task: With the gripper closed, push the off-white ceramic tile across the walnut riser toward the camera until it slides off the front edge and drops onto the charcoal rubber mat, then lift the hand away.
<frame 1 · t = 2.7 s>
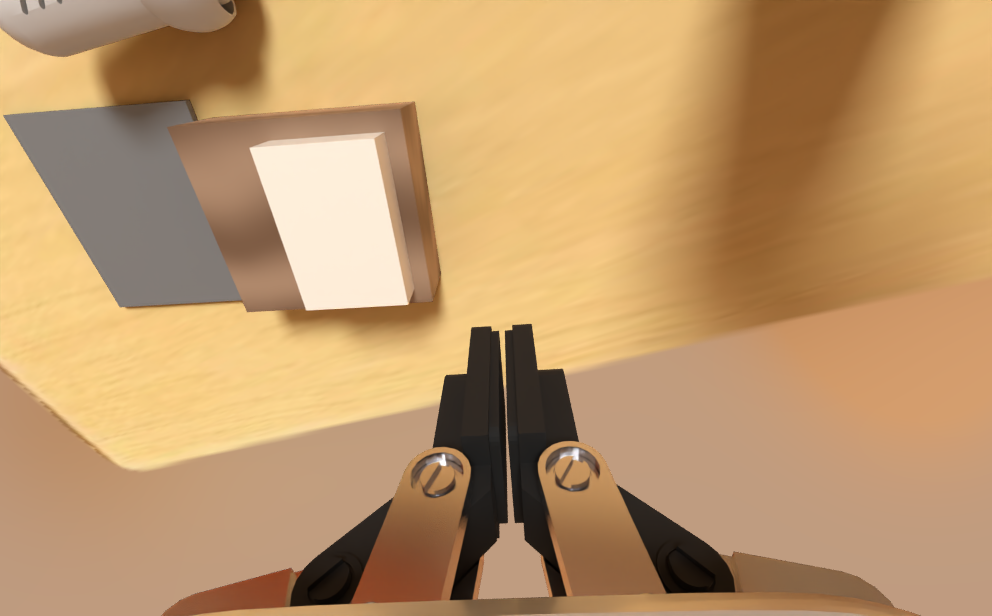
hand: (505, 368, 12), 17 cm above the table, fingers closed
riser: (337, 202, 27), on the table
mat: (152, 215, 28), on the table
tile: (348, 221, 24), point 4 cm above the table, touching riser
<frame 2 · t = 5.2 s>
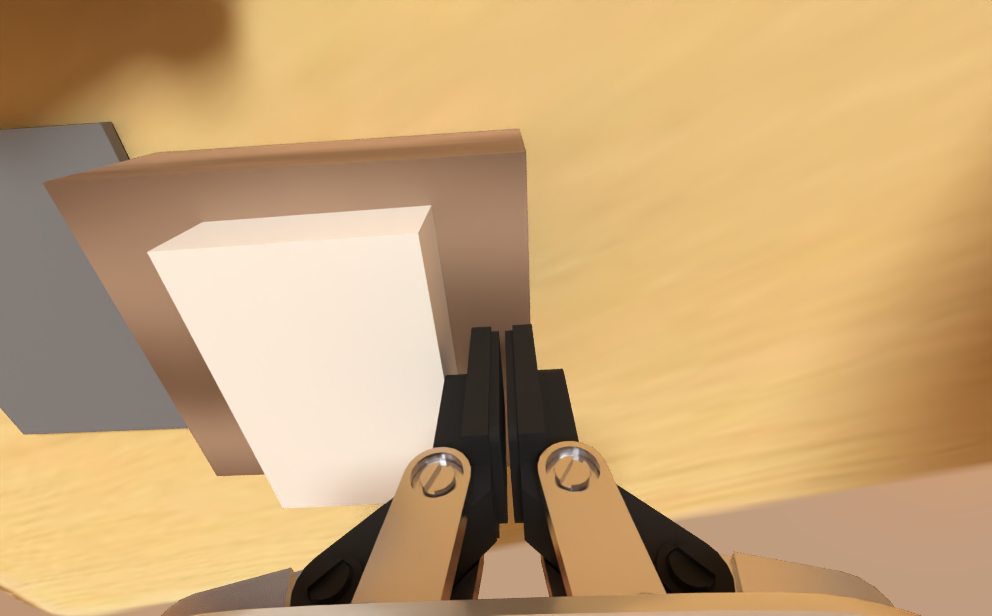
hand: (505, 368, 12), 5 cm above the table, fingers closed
riser: (370, 290, 16), on the table
mat: (63, 306, 17), on the table
tile: (357, 355, 13), point 4 cm above the table, touching riser
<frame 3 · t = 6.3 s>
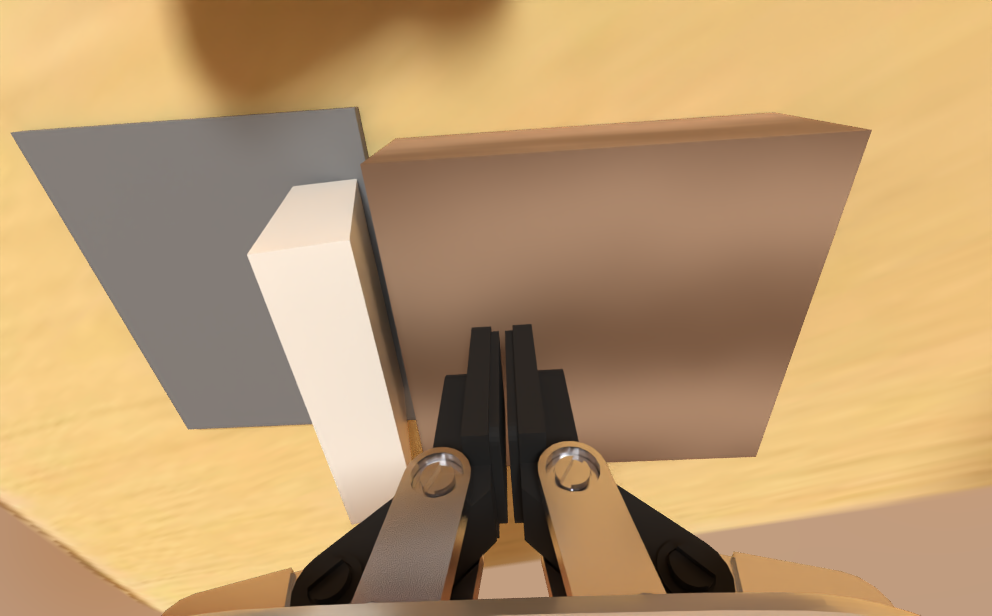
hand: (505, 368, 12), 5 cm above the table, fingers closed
riser: (576, 280, 16), on the table
mat: (258, 297, 17), on the table
tile: (386, 339, 14), point 3 cm above the table, tilted 75°, touching mat
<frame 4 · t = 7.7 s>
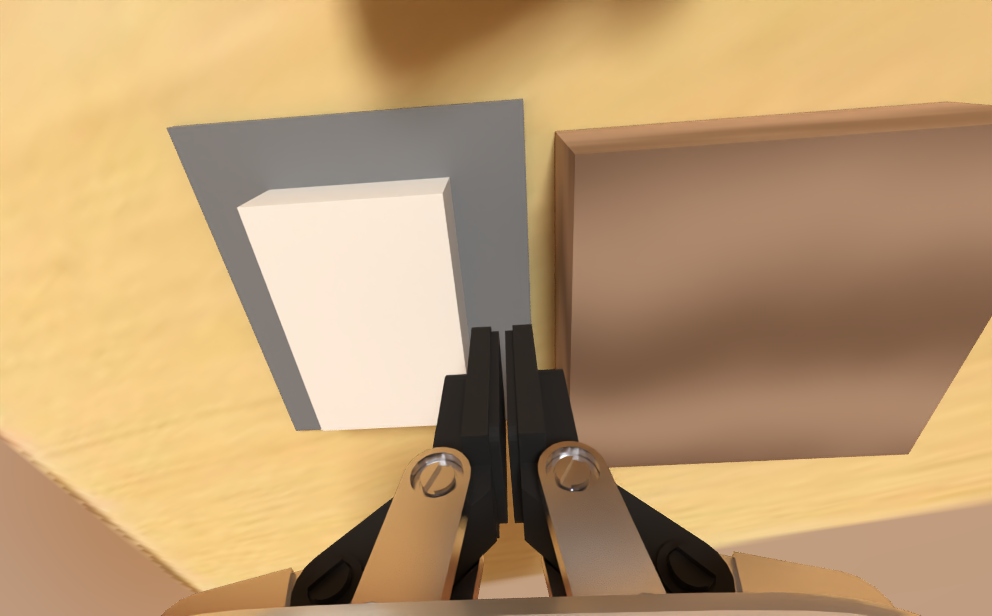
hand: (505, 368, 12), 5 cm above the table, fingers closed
riser: (714, 275, 16), on the table
mat: (387, 295, 16), on the table
tile: (372, 331, 14), point 2 cm above the table, tilted 180°, touching mat
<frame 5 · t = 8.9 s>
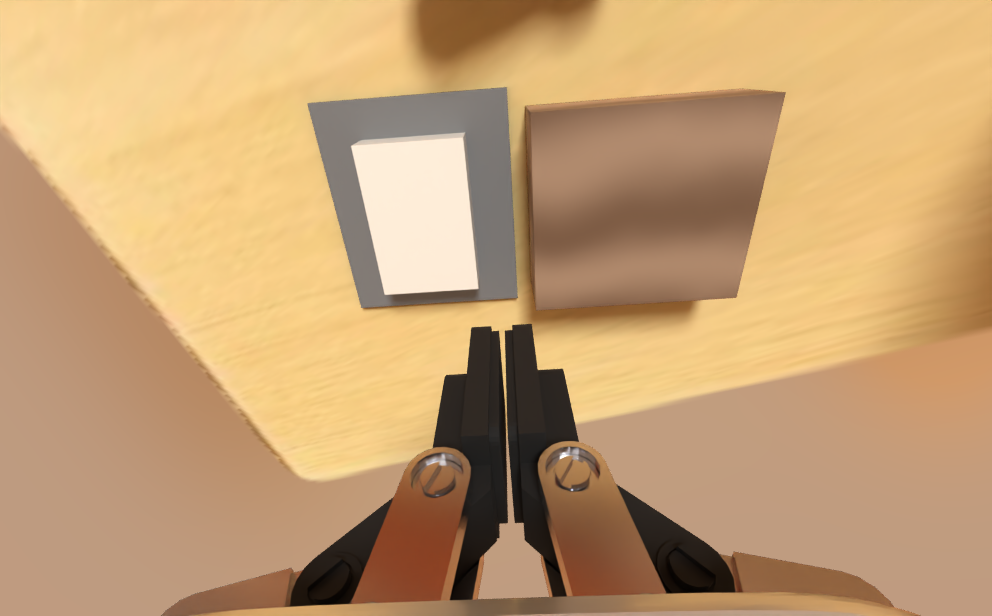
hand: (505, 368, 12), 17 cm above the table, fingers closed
riser: (624, 195, 26), on the table
mat: (425, 210, 27), on the table
tile: (420, 223, 25), point 2 cm above the table, tilted 180°, touching mat
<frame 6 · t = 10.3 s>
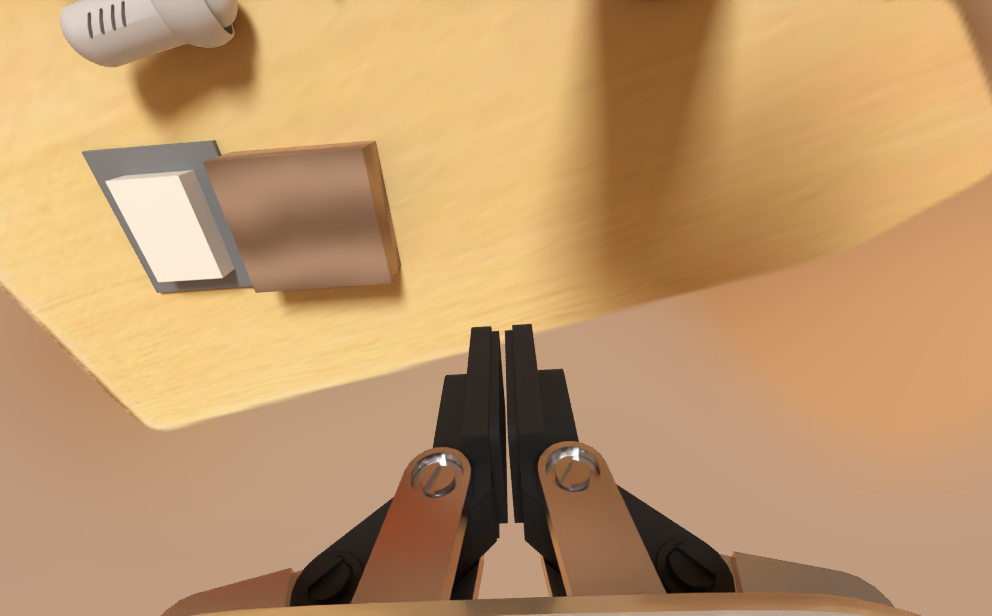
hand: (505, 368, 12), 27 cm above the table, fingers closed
riser: (321, 212, 37), on the table
mat: (185, 222, 38), on the table
tile: (167, 232, 36), point 2 cm above the table, tilted 180°, touching mat
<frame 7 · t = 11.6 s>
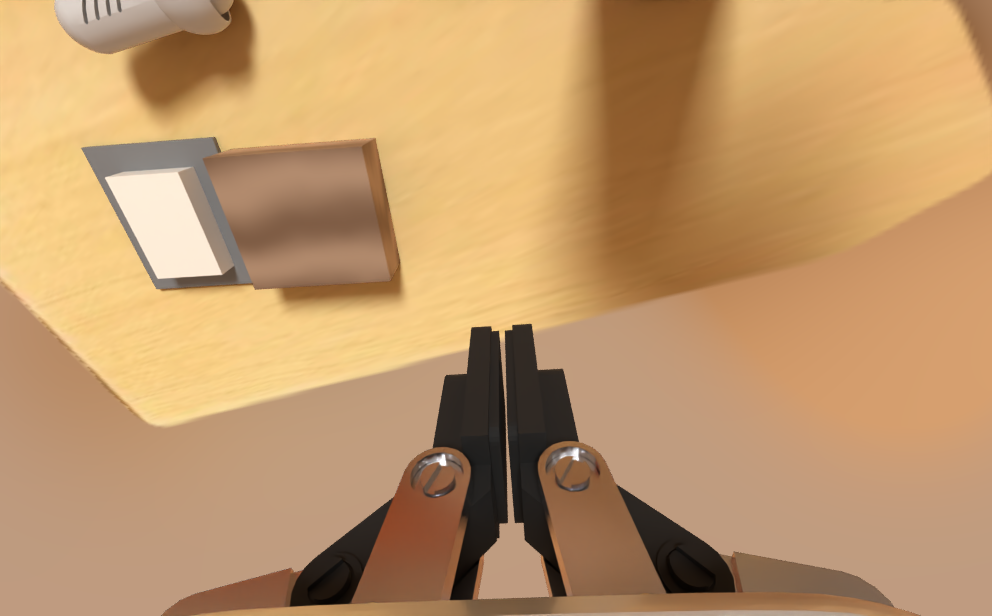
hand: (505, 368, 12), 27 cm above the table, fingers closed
riser: (321, 209, 37), on the table
mat: (184, 219, 38), on the table
tile: (167, 228, 36), point 2 cm above the table, tilted 180°, touching mat
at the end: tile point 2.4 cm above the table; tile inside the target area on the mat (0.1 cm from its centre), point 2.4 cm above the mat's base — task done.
